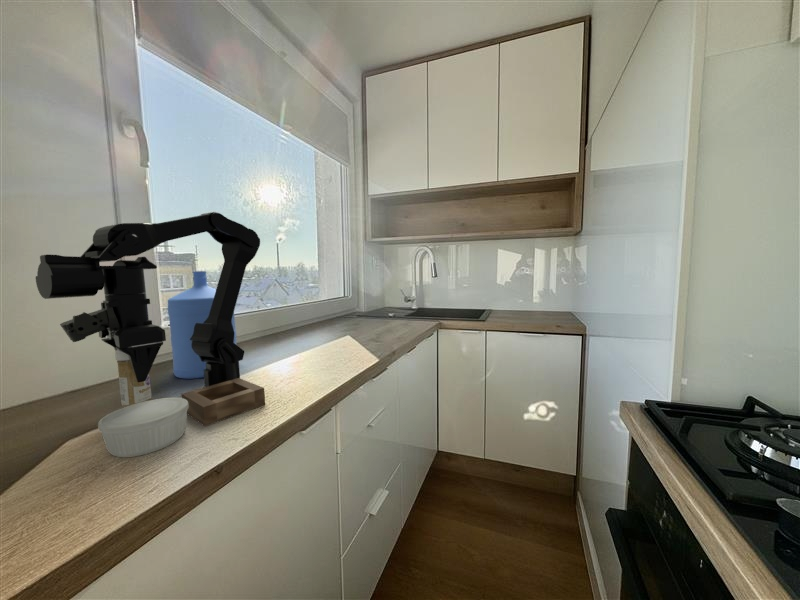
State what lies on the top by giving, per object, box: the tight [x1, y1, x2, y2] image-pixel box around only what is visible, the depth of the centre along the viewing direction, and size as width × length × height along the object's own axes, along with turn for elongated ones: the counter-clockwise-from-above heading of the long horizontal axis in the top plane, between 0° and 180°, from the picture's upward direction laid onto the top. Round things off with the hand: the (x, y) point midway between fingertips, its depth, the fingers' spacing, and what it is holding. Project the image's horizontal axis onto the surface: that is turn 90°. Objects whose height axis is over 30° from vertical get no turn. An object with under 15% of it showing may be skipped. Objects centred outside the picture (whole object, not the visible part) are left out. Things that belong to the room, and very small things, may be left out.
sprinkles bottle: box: [114, 349, 152, 408], centre depth 58 cm, size 5×5×13 cm
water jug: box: [167, 270, 238, 380], centre depth 87 cm, size 16×16×28 cm
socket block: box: [181, 377, 266, 427], centre depth 62 cm, size 11×11×4 cm
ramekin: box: [97, 397, 189, 458], centre depth 50 cm, size 11×11×5 cm
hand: (134, 377), depth 58 cm, fingers open, 9 cm apart
